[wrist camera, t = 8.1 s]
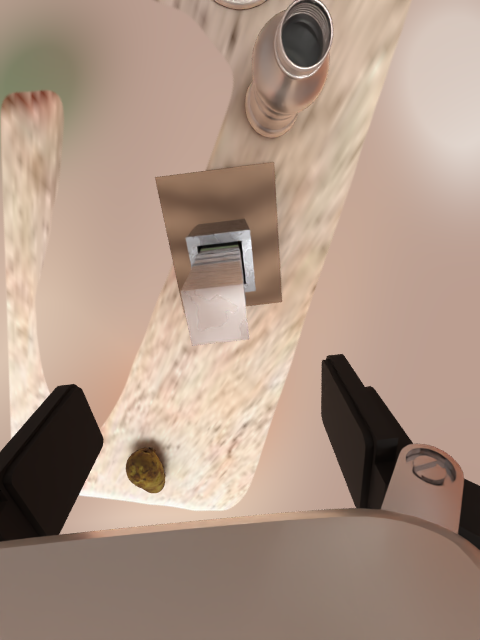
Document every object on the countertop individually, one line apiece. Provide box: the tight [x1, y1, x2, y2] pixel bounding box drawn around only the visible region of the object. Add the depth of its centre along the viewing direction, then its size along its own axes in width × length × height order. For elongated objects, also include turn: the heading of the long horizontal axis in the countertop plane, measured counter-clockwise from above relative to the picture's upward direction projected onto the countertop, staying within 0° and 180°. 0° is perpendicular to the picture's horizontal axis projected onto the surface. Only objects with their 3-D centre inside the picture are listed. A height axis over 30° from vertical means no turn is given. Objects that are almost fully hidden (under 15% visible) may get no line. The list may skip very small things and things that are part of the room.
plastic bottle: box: [245, 0, 333, 138], centre depth 28 cm, size 6×7×20 cm
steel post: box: [181, 241, 249, 346], centre depth 28 cm, size 4×4×20 cm
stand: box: [155, 162, 282, 313], centre depth 38 cm, size 20×16×14 cm
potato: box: [126, 448, 165, 493], centre depth 59 cm, size 8×13×8 cm, turn 164°
